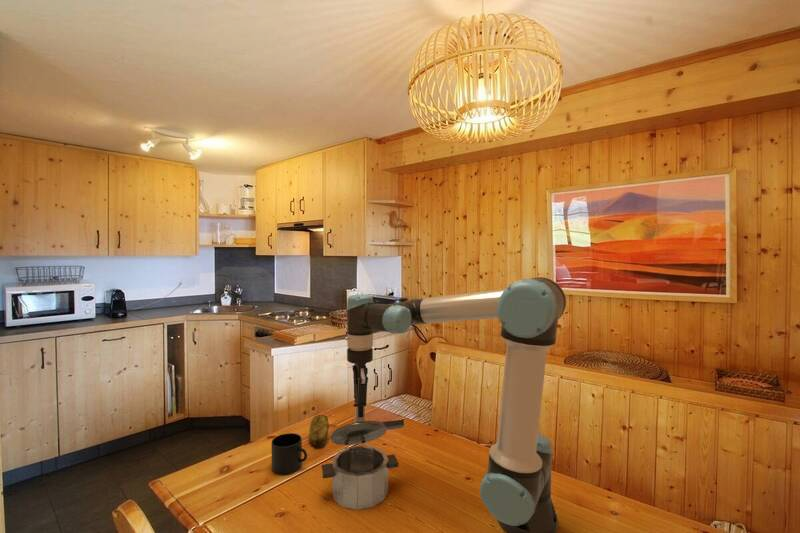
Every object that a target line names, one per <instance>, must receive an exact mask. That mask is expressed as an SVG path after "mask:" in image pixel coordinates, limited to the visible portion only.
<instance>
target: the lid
mask: <svg viewBox="0 0 800 533" xmlns="http://www.w3.org/2000/svg"><path fill="white" fill-rule="evenodd" d="M404 426H405V422H404V419H396V420H389V421H388V420H387V421H377V420H365V421H362V422H356V423H355V422H352V423H348V424H345V425H342V426H339V427H338V428H336V429H335V430H333V431H332V432H331V434H330V441H331V442H332V443H333V444H335V445H340V446H357V445H362V444H365V443H369V442H373V441H375V440H377V439H379V438H381V437H382V436H384V435H385V434H386V432H387V431H388V430H395V429H402V428H404Z"/></svg>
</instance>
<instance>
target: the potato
mask: <svg viewBox="0 0 800 533" xmlns="http://www.w3.org/2000/svg"><path fill="white" fill-rule="evenodd" d="M329 429H330V423H329V418H328V416H326V415H325V414H318V415H315V416H314V417H313V418H312V420H310V425H309V434H308V436H309V441H310V443H311V444H312V445H313V446H316V447H318V448H319V447H321V446H323V445H324V444H325V443H326V441H327V440H326V439H327V437H328V435H329Z"/></svg>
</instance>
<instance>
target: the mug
mask: <svg viewBox="0 0 800 533" xmlns="http://www.w3.org/2000/svg"><path fill="white" fill-rule="evenodd" d="M302 443H303V438H302V436H301V435H300V434H298V433H295V432H294V433H292V432H288V433H283V434H280V435H277V436H274V437H273V439H272V440H271V470H272V472H273V473H274V474H276V475H283V476H284V475H291V474H293V473H295V472H298V471H299V470H300V469H301V467H302V464H303V462H305V461H306V460H307V458H308V453H307V451H306V449H304V448H303V446H302ZM302 455H304V456H302Z"/></svg>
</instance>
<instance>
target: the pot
mask: <svg viewBox="0 0 800 533" xmlns="http://www.w3.org/2000/svg"><path fill="white" fill-rule="evenodd" d="M394 468H399V461H398V459H397V457H396V455H395V454H386V452H385V451H384V450H382V449H380V448H378V447H377V446H371V445H366V444H363V445H362V444H360V445H352V446H348V447H344V449H342V450H340V451H338V452H337V453H336V454H335V455H334V457H333V458H332V459H331V463H326V464H325V463H324V464H321V473H322V479H331V491H332V499H333V501H334V502H335V503H337V504H338V505H339V506H341V507H342V508H345V509H349V510H357V511H358V510H365V509H370V508H371V509H372V508H374V507H375V506H377V505H378V504H380V503H382V502H383V501H385V499H386V497H387V494H388V492H389V469H394Z"/></svg>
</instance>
